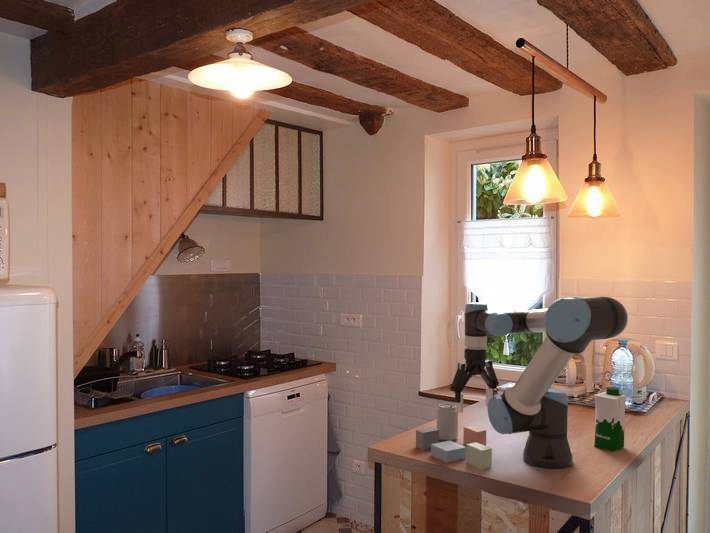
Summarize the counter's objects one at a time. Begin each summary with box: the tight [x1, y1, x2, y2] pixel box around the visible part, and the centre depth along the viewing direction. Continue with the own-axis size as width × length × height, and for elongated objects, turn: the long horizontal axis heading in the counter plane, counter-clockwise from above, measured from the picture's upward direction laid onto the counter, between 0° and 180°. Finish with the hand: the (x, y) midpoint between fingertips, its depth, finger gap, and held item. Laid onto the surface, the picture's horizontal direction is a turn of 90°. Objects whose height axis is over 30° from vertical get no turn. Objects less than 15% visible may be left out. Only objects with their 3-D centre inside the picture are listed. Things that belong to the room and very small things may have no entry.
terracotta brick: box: [462, 425, 487, 446], centre depth 207 cm, size 7×4×6 cm, turn 31°
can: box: [436, 403, 459, 442], centre depth 215 cm, size 8×8×12 cm
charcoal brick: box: [415, 426, 440, 451], centre depth 205 cm, size 7×4×6 cm, turn 121°
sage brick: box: [465, 442, 493, 471], centre depth 188 cm, size 7×4×6 cm, turn 31°
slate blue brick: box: [430, 441, 467, 464], centre depth 196 cm, size 8×8×4 cm
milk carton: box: [593, 386, 627, 453], centre depth 206 cm, size 9×9×20 cm
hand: (474, 409), depth 207 cm, fingers open, 13 cm apart
